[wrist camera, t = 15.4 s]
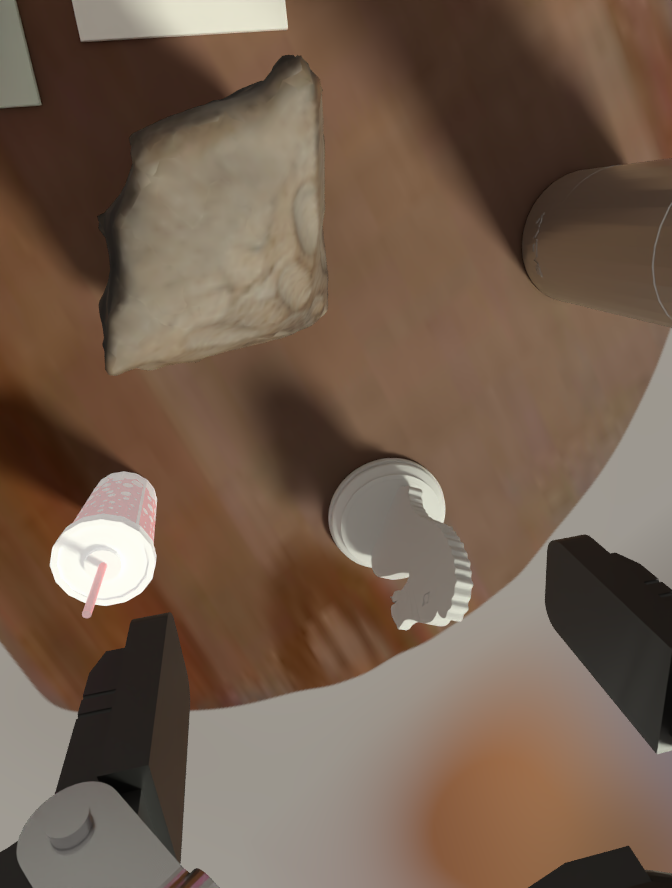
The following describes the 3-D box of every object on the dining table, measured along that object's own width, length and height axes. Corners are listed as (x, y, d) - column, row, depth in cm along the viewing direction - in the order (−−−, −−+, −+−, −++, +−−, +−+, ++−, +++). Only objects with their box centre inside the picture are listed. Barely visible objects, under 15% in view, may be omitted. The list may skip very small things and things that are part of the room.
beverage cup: (63, 499, 43) (-3, 618, 31) (122, 445, 43) (81, 543, 30) (127, 549, 46) (91, 679, 33) (184, 499, 45) (170, 611, 32)
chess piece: (311, 550, 49) (348, 680, 35) (352, 444, 46) (409, 539, 32) (416, 573, 52) (488, 702, 38) (460, 474, 49) (555, 574, 35)
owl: (144, 340, 40) (83, 442, 22) (101, 135, 36) (-24, 47, 17) (324, 318, 42) (407, 395, 24) (305, 119, 38) (389, 25, 19)
